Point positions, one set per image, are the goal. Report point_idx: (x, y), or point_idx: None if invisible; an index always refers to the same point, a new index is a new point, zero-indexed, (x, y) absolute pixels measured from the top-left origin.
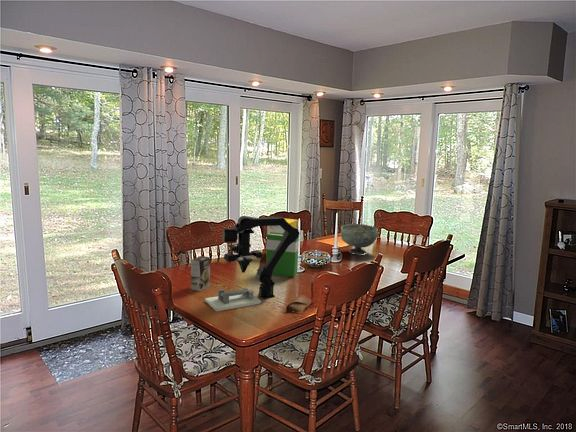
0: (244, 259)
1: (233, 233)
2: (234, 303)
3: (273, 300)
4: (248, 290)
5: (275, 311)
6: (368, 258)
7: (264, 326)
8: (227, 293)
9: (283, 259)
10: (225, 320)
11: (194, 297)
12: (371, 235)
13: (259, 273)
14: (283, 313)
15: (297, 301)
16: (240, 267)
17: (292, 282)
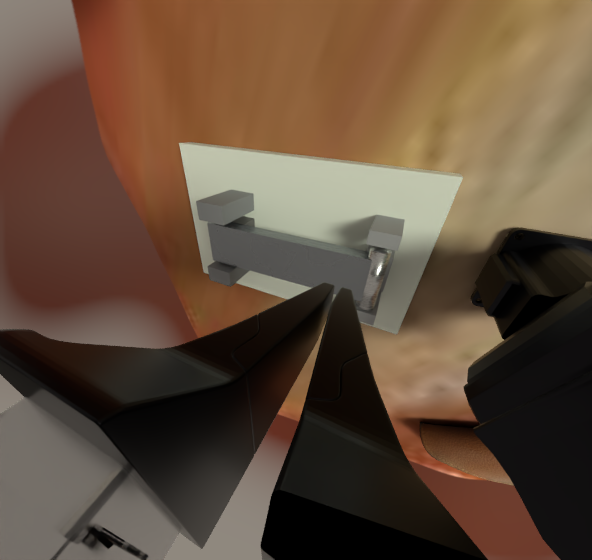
0: (278, 523)
1: None
2: (274, 281)
3: (491, 344)
4: (364, 292)
5: (384, 394)
6: None
7: (290, 404)
8: (226, 274)
9: None
10: (221, 326)
11: (147, 42)
12: None
13: (490, 428)
14: (393, 417)
15: (484, 477)
16: (275, 313)
17: None
